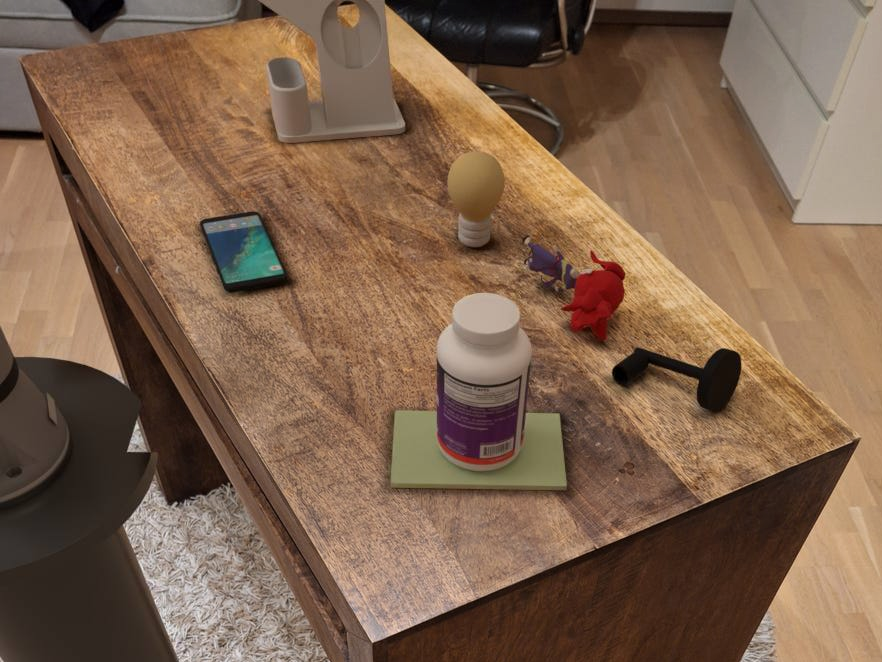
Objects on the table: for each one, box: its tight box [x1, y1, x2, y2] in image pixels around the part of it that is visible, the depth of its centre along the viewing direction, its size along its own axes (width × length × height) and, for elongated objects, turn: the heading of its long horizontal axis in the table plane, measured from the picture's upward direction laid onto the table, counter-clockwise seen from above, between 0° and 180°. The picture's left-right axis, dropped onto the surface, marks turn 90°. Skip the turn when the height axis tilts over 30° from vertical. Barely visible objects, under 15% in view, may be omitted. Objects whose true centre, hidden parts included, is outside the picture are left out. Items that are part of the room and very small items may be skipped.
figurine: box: [522, 235, 627, 341], centre depth 96 cm, size 6×8×15 cm
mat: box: [390, 409, 568, 491], centre depth 85 cm, size 16×10×1 cm, turn 91°
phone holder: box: [258, 0, 406, 144], centre depth 115 cm, size 17×10×18 cm, turn 104°
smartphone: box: [199, 211, 289, 294], centre depth 102 cm, size 7×1×15 cm
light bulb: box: [446, 150, 506, 248], centre depth 102 cm, size 6×6×10 cm
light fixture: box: [588, 346, 743, 413], centre depth 89 cm, size 6×11×13 cm
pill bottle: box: [436, 292, 533, 471], centre depth 78 cm, size 8×8×14 cm
